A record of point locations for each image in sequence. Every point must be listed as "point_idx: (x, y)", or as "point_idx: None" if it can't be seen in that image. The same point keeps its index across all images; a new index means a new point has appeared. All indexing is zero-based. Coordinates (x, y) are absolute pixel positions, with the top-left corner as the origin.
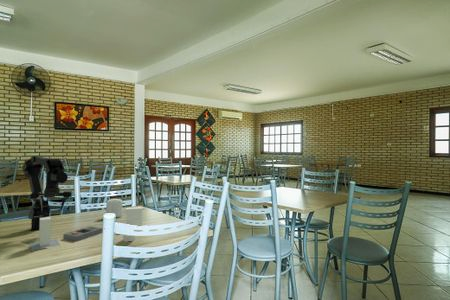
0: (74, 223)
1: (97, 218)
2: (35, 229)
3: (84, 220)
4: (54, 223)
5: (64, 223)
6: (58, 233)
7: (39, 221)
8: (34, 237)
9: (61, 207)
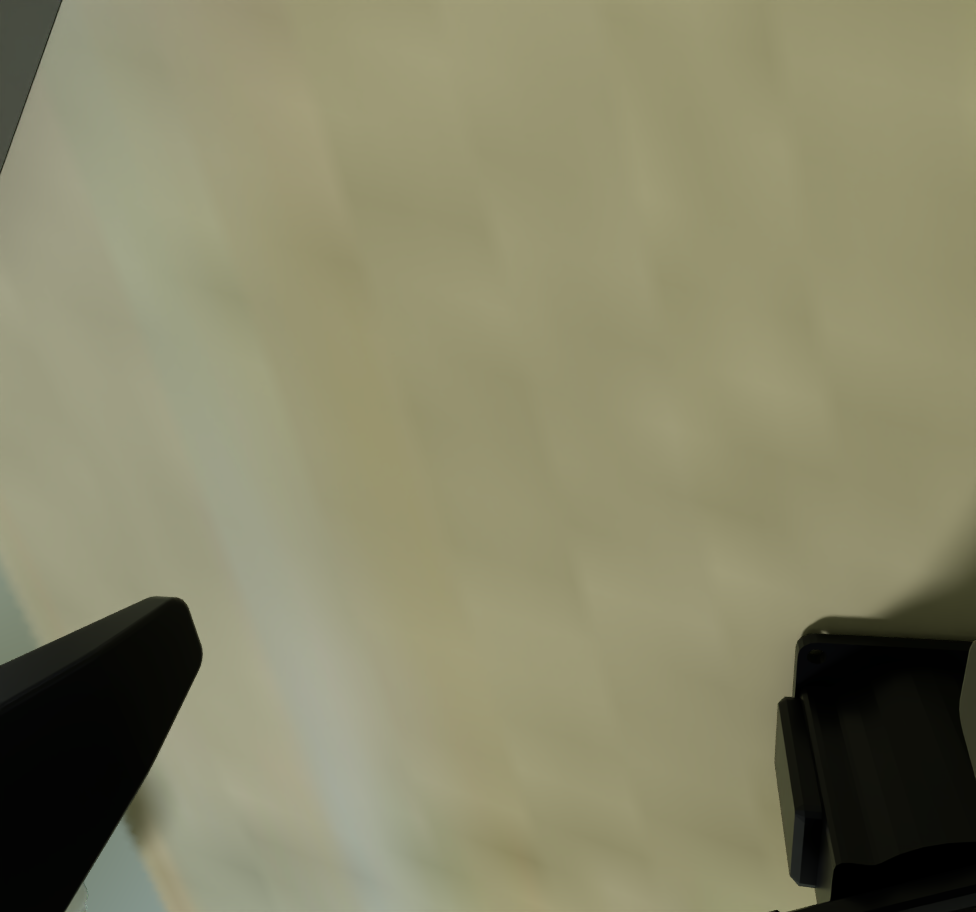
0: (391, 799)
1: (181, 905)
2: (958, 646)
3: (307, 885)
4: (688, 907)
5: (537, 852)
6: (467, 278)
7: (931, 779)
8: (916, 63)
9: (69, 660)
